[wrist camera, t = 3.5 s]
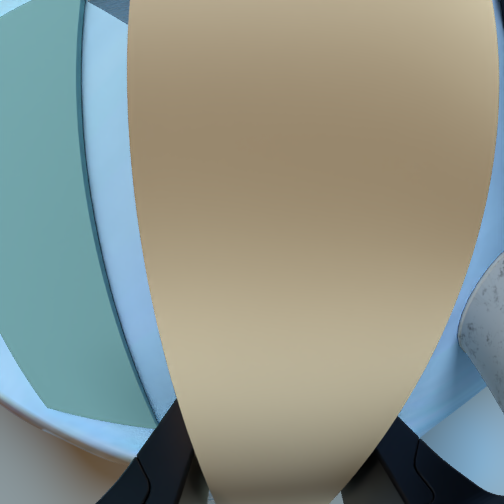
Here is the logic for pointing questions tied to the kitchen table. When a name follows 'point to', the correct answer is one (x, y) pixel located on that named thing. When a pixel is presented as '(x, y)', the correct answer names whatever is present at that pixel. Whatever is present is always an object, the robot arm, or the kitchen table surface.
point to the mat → (56, 227)
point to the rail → (305, 217)
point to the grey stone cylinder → (486, 328)
